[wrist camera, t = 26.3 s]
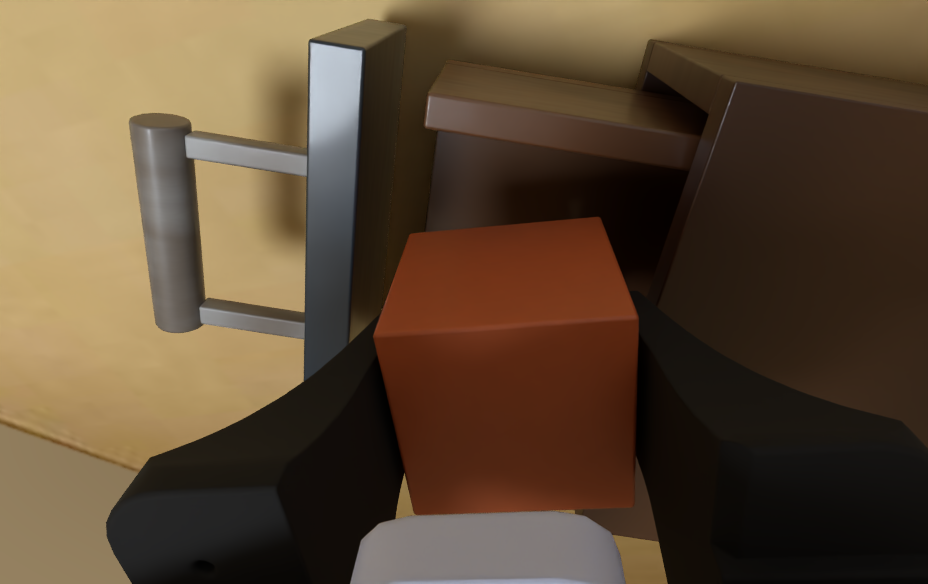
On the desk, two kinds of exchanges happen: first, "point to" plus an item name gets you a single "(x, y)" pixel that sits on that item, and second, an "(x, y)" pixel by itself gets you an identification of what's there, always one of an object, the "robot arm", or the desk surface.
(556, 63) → the desk surface
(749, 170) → the cabinet
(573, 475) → the block
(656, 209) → the drawer
